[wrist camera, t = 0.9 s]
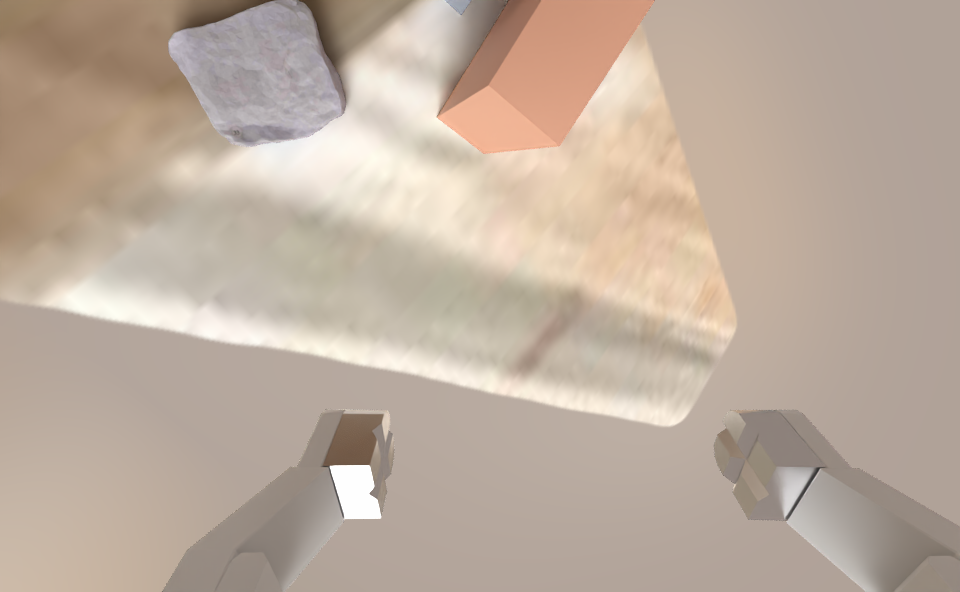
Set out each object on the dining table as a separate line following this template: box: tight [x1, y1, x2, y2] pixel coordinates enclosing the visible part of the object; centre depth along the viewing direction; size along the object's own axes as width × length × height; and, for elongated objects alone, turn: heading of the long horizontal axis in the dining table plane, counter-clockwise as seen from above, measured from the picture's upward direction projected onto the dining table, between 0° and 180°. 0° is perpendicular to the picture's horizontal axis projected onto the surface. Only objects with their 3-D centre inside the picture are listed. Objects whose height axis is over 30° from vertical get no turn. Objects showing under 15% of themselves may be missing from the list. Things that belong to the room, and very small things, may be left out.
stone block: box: [168, 0, 346, 147], centre depth 36 cm, size 12×5×10 cm
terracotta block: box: [437, 0, 655, 154], centre depth 34 cm, size 6×16×18 cm, turn 146°
